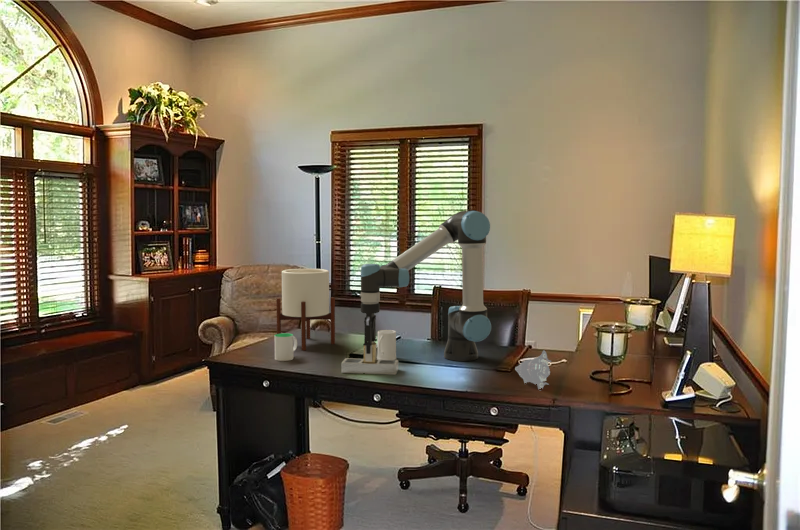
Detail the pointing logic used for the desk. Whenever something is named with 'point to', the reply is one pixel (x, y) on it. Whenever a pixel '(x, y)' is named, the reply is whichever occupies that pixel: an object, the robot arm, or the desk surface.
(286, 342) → the mug
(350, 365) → the grey compartment tray
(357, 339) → the desk surface
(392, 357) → the mug
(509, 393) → the desk surface
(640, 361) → the desk surface
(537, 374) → the figurine
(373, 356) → the brass block
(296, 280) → the plant pot with stand
